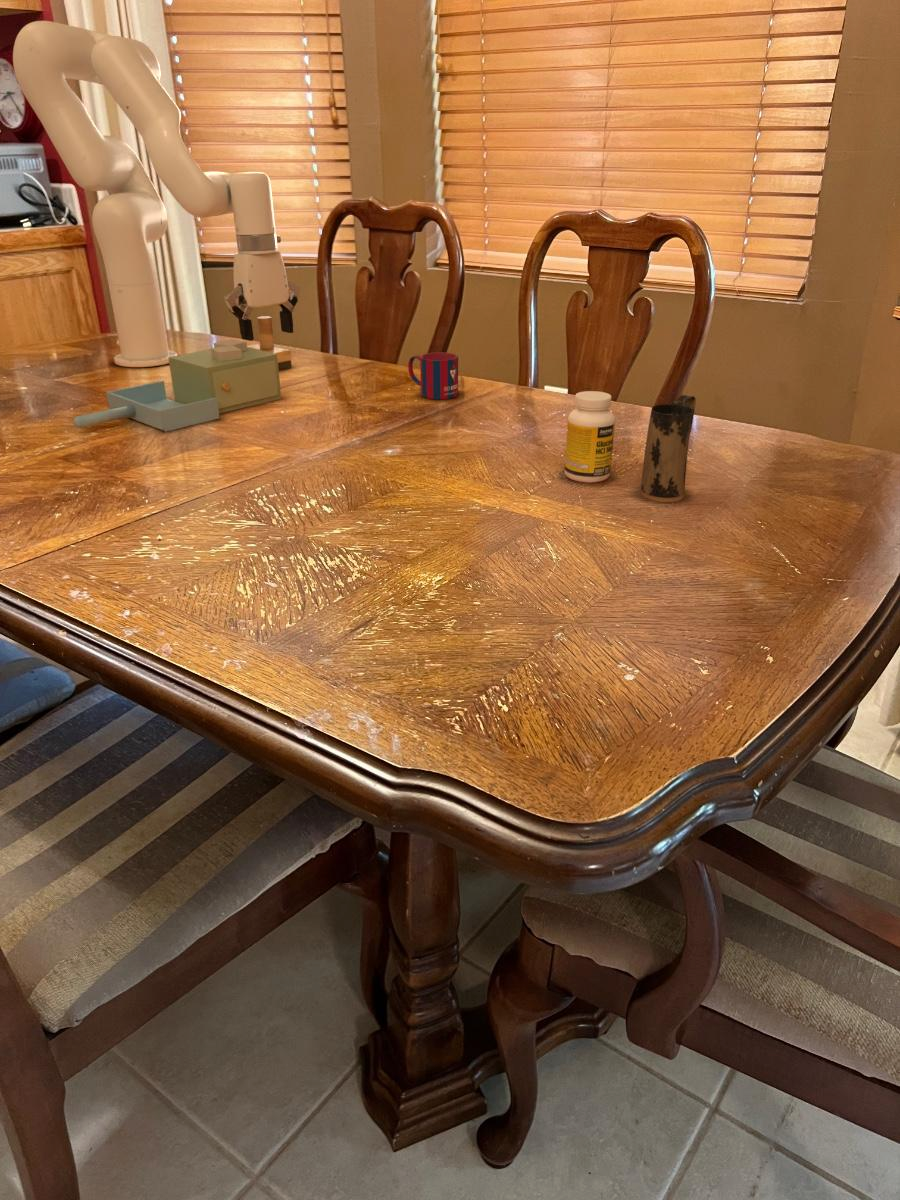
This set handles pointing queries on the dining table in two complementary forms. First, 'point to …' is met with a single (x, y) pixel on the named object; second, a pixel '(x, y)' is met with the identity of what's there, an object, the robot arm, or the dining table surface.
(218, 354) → the felt
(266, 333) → the tan two-tone stamp part
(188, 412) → the dustpan
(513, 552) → the dining table surface
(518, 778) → the dining table surface
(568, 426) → the pill bottle
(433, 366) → the cup
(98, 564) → the dining table surface
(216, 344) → the felt
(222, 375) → the cabinet
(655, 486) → the mug
